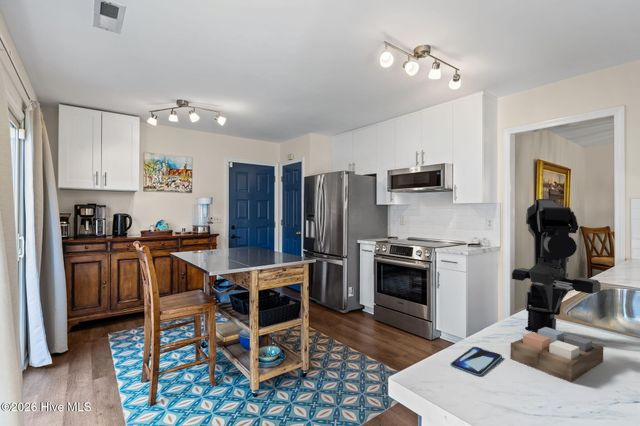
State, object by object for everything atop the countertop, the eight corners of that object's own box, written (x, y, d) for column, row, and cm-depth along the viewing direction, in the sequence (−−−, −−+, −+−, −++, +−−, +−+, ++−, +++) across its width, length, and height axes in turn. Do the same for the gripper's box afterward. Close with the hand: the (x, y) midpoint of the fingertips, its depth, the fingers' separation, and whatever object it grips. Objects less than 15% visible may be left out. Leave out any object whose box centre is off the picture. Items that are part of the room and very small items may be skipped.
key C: (537, 340, 87) (538, 329, 87) (545, 337, 90) (545, 326, 90) (556, 346, 84) (556, 335, 84) (563, 343, 86) (564, 332, 86)
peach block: (522, 347, 83) (523, 335, 83) (531, 343, 85) (531, 332, 85) (541, 353, 79) (542, 341, 79) (549, 349, 82) (550, 338, 82)
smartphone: (448, 364, 78) (473, 345, 88) (448, 367, 78) (473, 349, 88) (480, 376, 73) (503, 355, 83) (480, 380, 73) (503, 358, 83)
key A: (549, 356, 78) (549, 344, 78) (557, 352, 80) (557, 340, 80) (570, 363, 74) (571, 351, 74) (578, 359, 77) (579, 347, 77)
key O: (563, 349, 82) (564, 337, 82) (570, 345, 85) (571, 334, 85) (584, 356, 79) (585, 343, 79) (591, 352, 81) (592, 340, 81)
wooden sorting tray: (510, 358, 82) (510, 343, 82) (545, 343, 93) (545, 329, 93) (571, 382, 71) (571, 364, 71) (603, 362, 82) (603, 346, 82)
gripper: (502, 250, 90) (500, 306, 90) (584, 260, 74) (581, 328, 74) (522, 248, 96) (520, 301, 96) (602, 257, 80) (600, 320, 80)
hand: (551, 311), depth 87 cm, fingers closed
